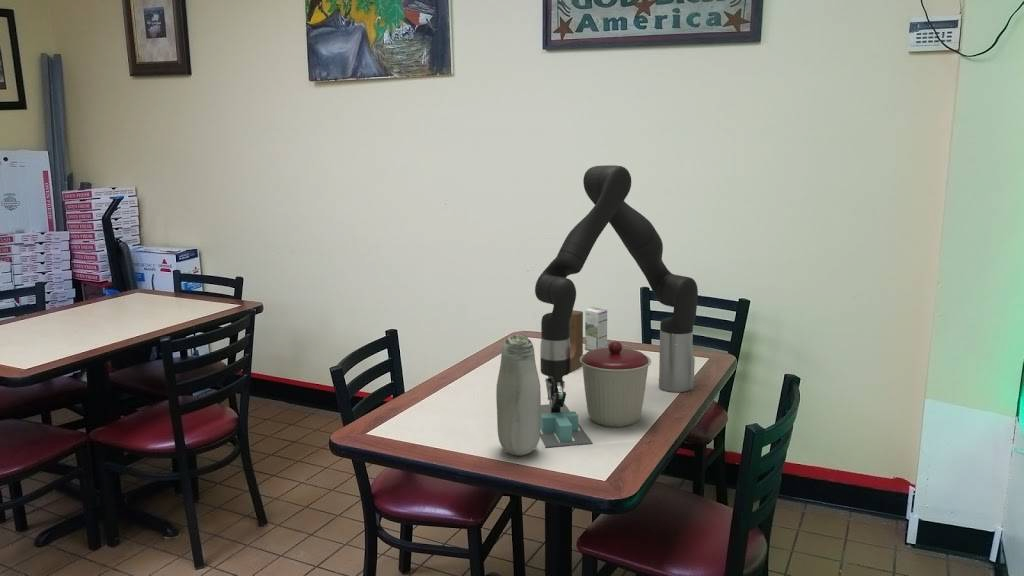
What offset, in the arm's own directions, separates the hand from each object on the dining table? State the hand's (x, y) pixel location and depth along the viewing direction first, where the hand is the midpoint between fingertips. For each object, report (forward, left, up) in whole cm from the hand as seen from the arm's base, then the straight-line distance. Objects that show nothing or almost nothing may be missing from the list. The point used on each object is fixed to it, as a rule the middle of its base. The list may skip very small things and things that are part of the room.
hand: (555, 419), depth 190 cm
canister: (-16, -1, -2) cm, 16 cm away
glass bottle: (+12, +14, -2) cm, 19 cm away
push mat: (0, -1, -2) cm, 2 cm away
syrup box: (-30, -66, -2) cm, 72 cm away
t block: (0, +7, -1) cm, 7 cm away
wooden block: (-16, -47, -2) cm, 49 cm away
